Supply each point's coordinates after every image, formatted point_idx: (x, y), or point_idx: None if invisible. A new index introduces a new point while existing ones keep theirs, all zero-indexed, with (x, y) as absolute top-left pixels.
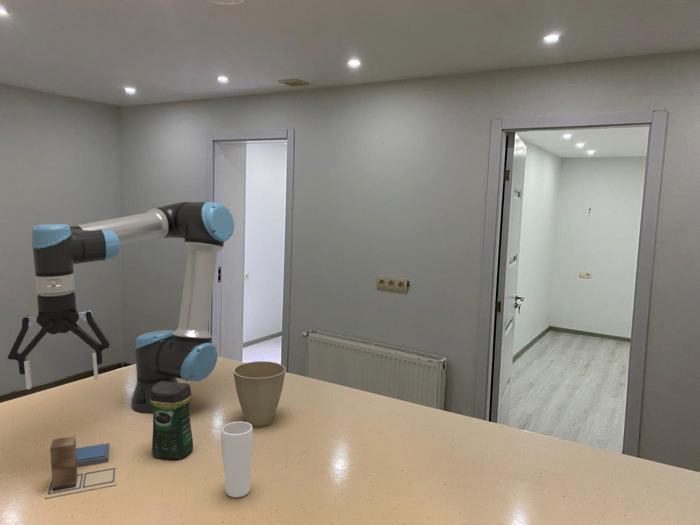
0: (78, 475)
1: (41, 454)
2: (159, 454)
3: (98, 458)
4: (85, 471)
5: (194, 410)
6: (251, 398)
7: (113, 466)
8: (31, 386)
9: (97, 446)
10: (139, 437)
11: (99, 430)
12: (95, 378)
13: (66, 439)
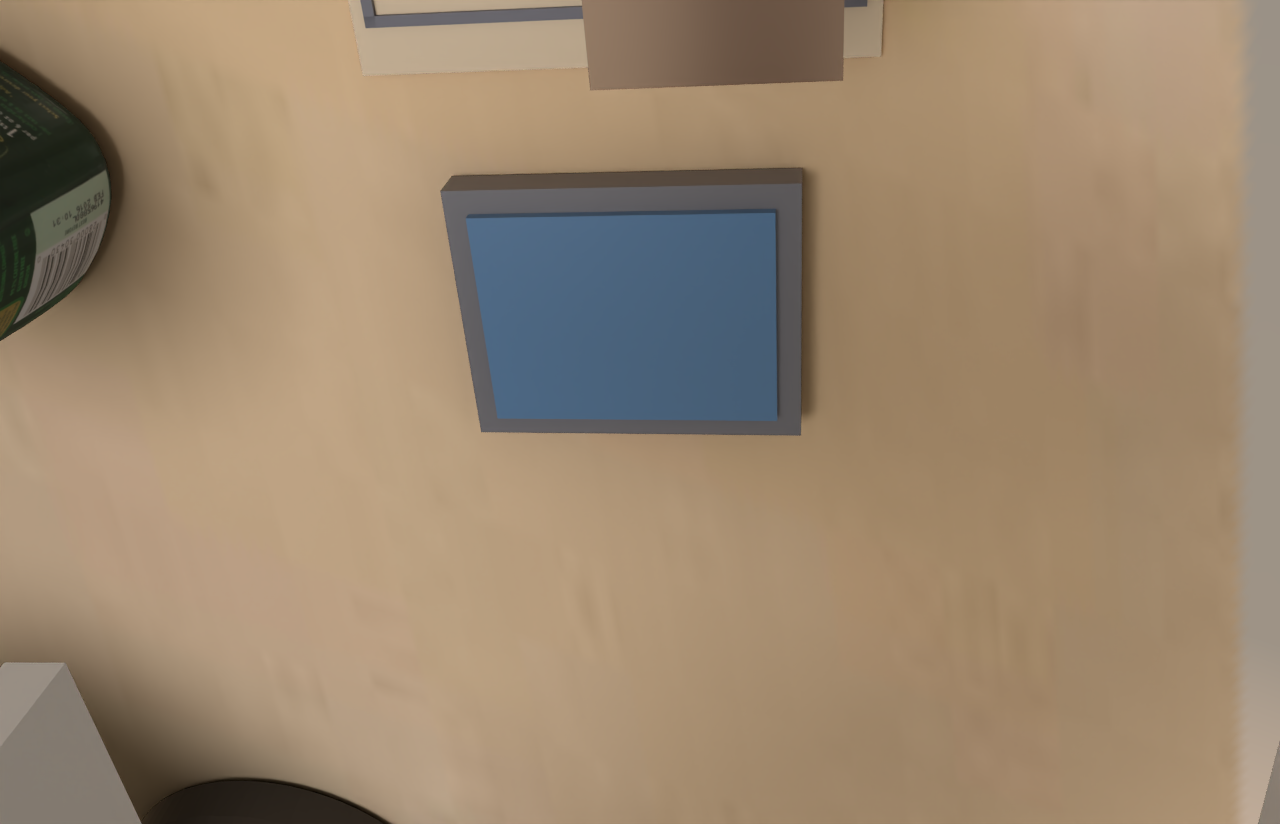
0: None
1: (982, 481)
2: (14, 85)
3: (516, 199)
4: None
5: None
6: None
7: (388, 67)
8: (1269, 781)
9: (557, 395)
10: (302, 489)
11: (610, 681)
12: (26, 681)
13: (679, 20)
